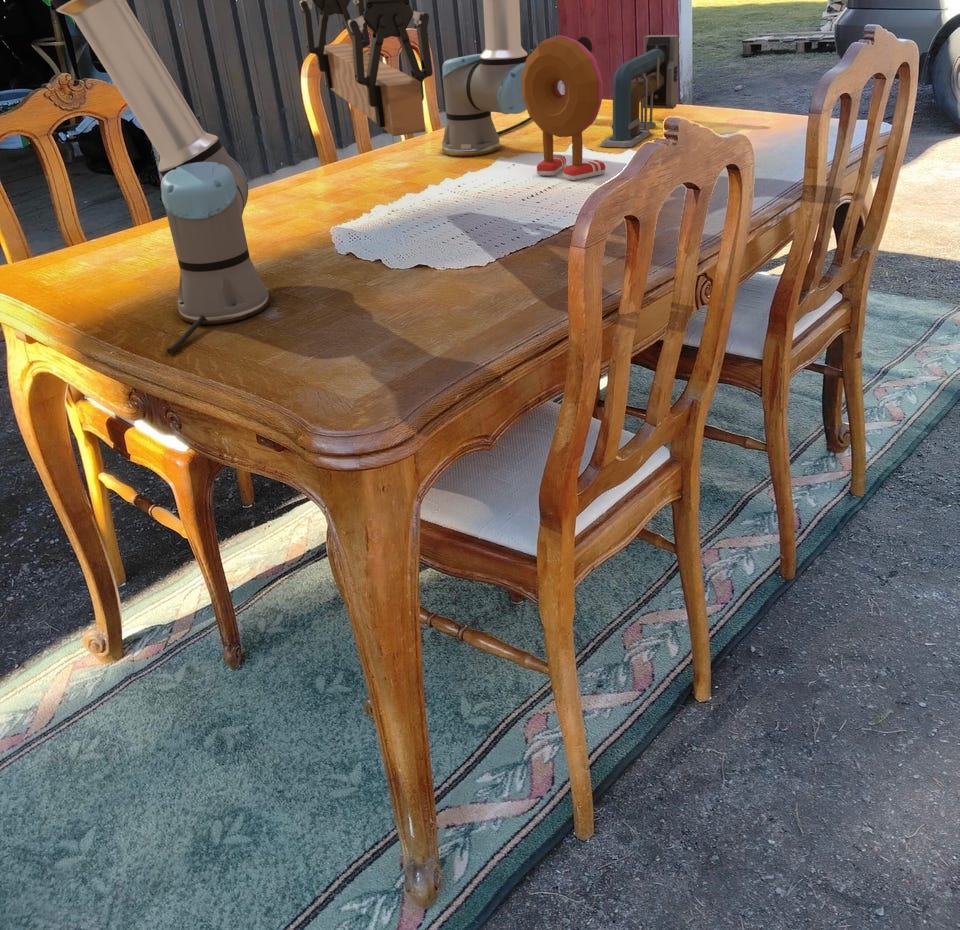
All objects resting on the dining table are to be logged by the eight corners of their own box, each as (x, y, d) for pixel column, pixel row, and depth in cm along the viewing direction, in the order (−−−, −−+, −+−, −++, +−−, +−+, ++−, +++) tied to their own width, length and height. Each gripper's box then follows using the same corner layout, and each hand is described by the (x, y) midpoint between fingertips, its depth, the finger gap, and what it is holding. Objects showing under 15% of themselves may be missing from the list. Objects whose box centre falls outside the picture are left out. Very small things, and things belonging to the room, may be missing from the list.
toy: (617, 173, 223) (617, 32, 207) (590, 184, 216) (588, 39, 201) (546, 163, 236) (541, 30, 220) (519, 173, 230) (511, 36, 214)
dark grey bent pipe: (630, 147, 243) (630, 56, 233) (598, 146, 247) (597, 56, 236) (676, 118, 269) (678, 35, 258) (646, 117, 273) (647, 35, 262)
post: (425, 131, 164) (420, 81, 159) (393, 136, 162) (387, 85, 158) (350, 82, 213) (345, 42, 209) (325, 85, 211) (319, 45, 207)
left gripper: (432, -32, 162) (443, 113, 173) (322, -22, 157) (341, 126, 169) (445, -30, 156) (456, 120, 167) (331, -19, 151) (350, 134, 163)
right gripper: (367, -42, 200) (381, 77, 212) (277, -33, 195) (297, 89, 207) (376, -41, 194) (390, 81, 205) (284, -31, 189) (304, 94, 201)
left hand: (398, 123), depth 168 cm, fingers closed on post, 6 cm apart
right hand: (344, 85), depth 206 cm, fingers closed on post, 6 cm apart
